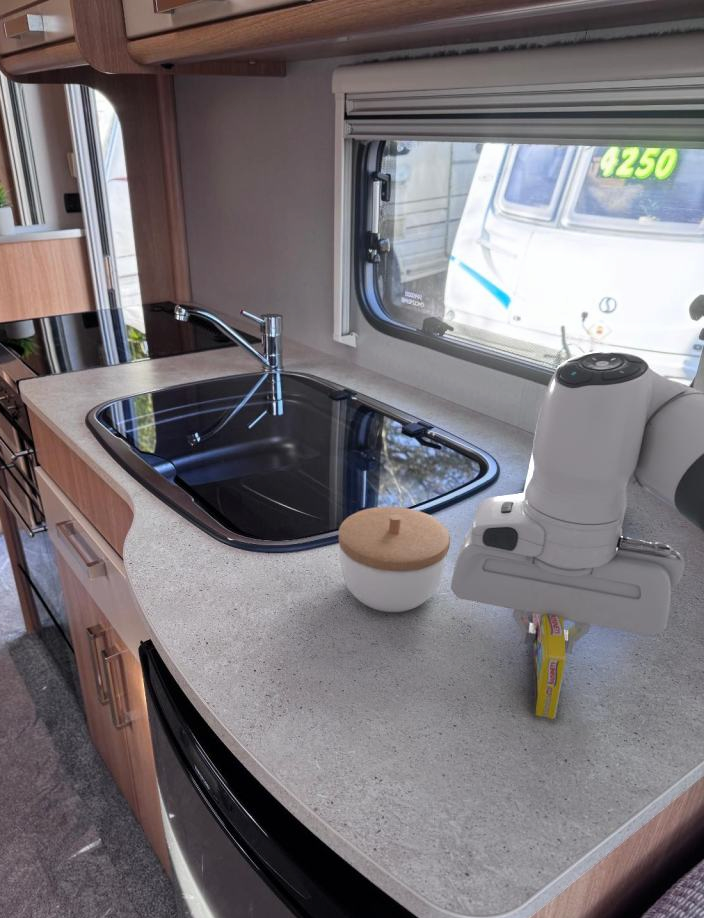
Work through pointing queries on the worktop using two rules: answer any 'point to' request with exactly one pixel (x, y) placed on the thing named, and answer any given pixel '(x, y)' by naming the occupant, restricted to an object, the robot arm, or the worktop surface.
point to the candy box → (548, 663)
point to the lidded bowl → (392, 557)
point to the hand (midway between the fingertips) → (545, 645)
